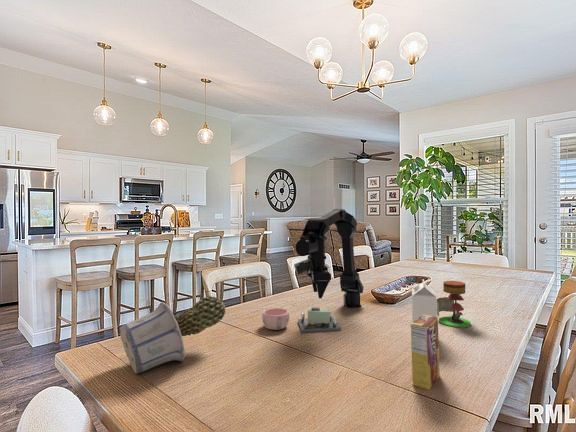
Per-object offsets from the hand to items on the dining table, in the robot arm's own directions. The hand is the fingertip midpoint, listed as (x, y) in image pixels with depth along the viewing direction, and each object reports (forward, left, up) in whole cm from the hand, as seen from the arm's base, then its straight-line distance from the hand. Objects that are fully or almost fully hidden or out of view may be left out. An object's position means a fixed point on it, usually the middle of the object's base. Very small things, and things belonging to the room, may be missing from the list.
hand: (317, 295), depth 123 cm
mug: (+16, -2, -12) cm, 20 cm away
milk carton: (-32, +17, -12) cm, 38 cm away
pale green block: (0, 0, -10) cm, 10 cm away
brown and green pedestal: (-51, +4, -12) cm, 53 cm away
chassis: (0, 0, -12) cm, 12 cm away
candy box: (-19, +42, -12) cm, 48 cm away
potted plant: (+46, +20, -12) cm, 51 cm away
